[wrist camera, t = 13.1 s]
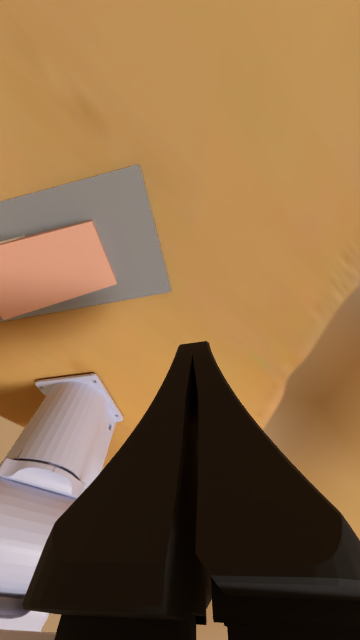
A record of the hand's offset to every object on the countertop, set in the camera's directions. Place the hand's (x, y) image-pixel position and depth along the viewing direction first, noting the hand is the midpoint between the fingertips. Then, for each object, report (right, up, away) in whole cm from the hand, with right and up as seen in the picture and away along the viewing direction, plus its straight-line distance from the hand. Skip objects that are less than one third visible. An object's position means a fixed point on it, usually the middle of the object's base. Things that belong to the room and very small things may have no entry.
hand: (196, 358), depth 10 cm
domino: (-6, +7, +5) cm, 11 cm away
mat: (-16, +6, +8) cm, 19 cm away
